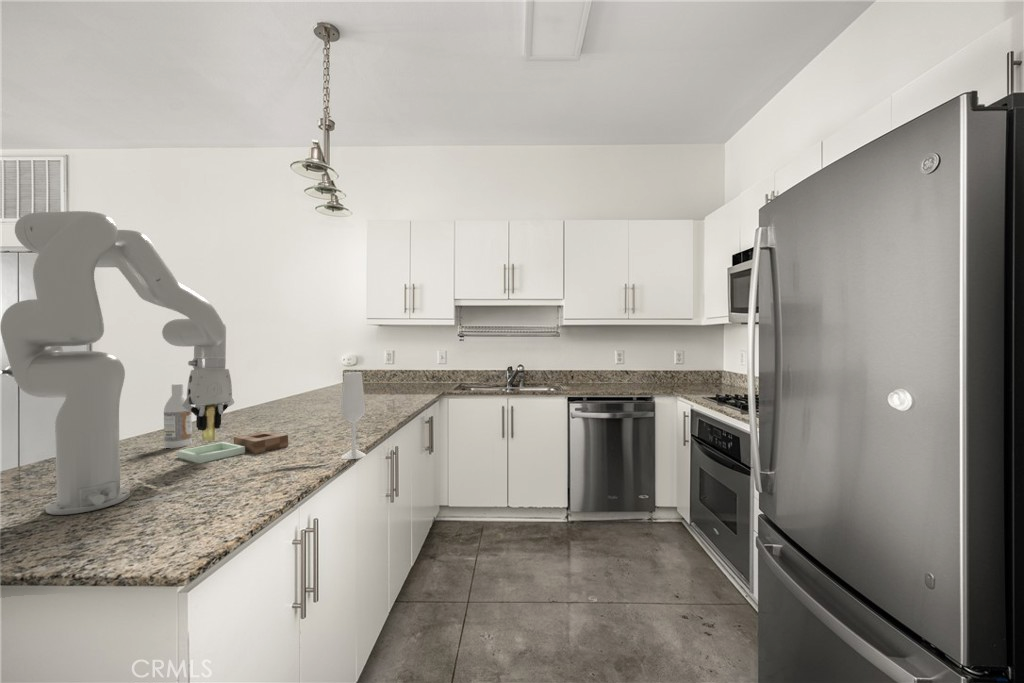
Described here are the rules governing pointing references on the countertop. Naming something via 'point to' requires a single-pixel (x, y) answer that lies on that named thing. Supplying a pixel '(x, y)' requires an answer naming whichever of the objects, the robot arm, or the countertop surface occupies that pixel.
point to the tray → (211, 452)
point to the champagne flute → (353, 407)
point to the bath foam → (177, 420)
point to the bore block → (262, 441)
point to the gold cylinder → (209, 423)
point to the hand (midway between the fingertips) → (208, 428)
